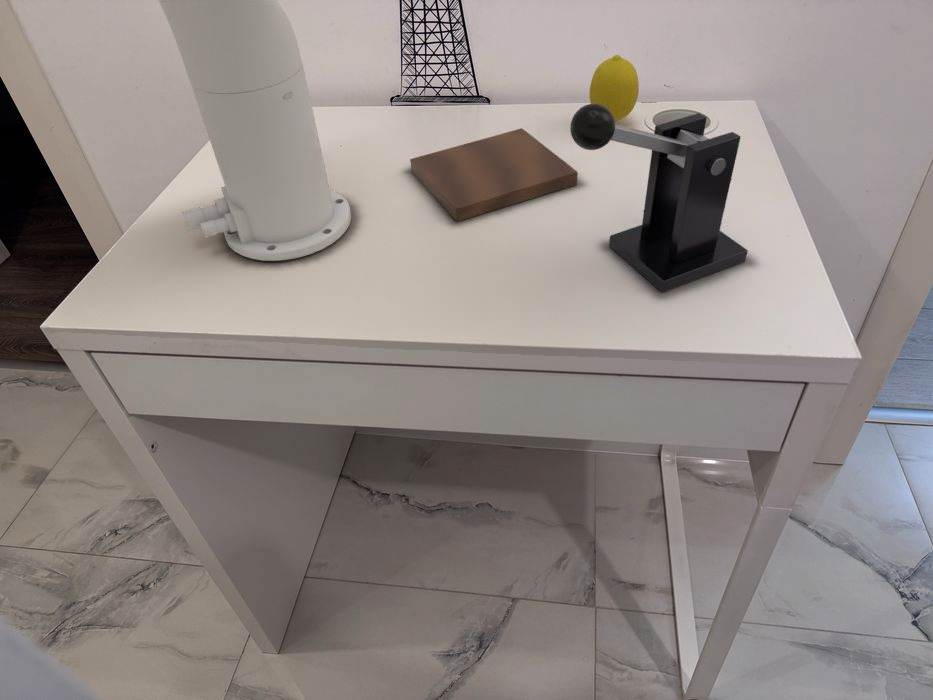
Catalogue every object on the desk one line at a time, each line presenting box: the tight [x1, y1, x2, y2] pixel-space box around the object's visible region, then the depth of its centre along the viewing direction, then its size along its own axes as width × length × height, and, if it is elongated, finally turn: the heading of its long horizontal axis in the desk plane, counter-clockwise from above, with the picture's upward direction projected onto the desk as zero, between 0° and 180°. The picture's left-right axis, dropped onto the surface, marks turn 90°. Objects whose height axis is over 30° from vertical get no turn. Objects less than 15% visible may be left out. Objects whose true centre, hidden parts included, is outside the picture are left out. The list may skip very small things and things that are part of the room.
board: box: [409, 128, 578, 223], centre depth 74 cm, size 14×12×2 cm
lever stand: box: [608, 112, 749, 293], centre depth 59 cm, size 9×8×12 cm
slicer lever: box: [569, 103, 709, 168], centre depth 53 cm, size 14×3×3 cm, turn 116°
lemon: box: [589, 54, 640, 123], centre depth 80 cm, size 6×6×8 cm
